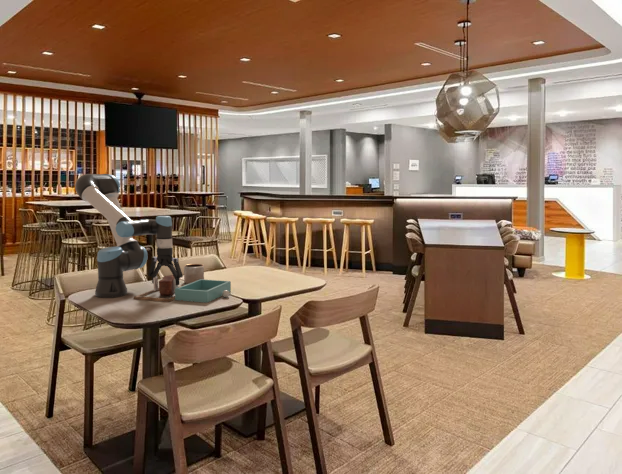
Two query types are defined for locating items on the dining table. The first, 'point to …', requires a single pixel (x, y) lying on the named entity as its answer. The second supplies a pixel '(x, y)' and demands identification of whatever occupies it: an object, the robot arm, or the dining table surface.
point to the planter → (193, 272)
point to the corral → (152, 297)
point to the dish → (202, 290)
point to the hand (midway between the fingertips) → (165, 290)
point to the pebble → (225, 293)
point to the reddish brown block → (167, 286)
